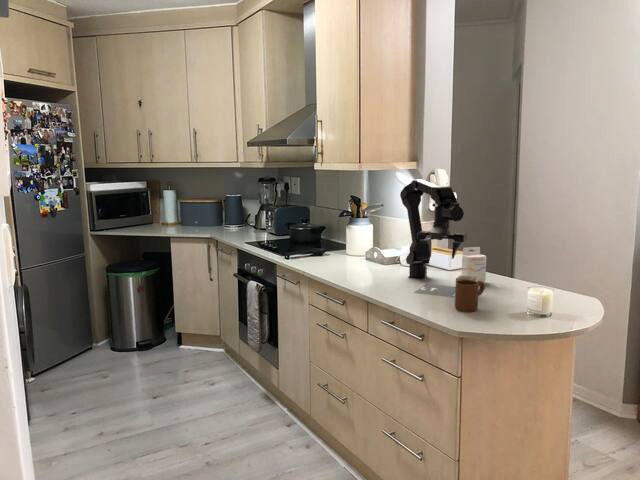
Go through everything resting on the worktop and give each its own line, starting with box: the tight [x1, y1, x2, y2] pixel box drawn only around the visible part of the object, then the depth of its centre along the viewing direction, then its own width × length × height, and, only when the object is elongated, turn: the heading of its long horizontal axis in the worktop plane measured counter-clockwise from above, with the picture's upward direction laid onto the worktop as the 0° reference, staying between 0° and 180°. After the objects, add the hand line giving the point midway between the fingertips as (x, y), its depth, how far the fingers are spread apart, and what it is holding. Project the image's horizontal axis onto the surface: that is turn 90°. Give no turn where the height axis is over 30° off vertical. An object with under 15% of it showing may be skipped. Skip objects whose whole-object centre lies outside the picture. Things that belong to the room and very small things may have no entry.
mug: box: [454, 280, 486, 313], centre depth 180 cm, size 12×8×9 cm, turn 120°
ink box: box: [461, 246, 487, 284], centre depth 215 cm, size 9×5×15 cm, turn 105°
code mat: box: [412, 283, 479, 299], centre depth 203 cm, size 22×16×1 cm
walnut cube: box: [455, 274, 476, 283], centre depth 199 cm, size 6×6×6 cm
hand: (441, 257), depth 209 cm, fingers open, 9 cm apart
